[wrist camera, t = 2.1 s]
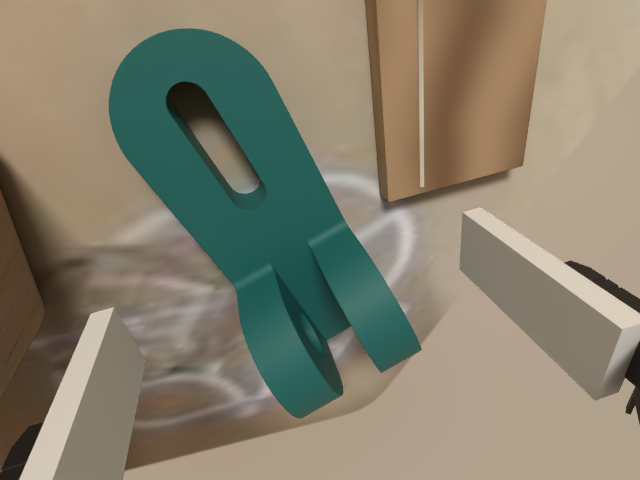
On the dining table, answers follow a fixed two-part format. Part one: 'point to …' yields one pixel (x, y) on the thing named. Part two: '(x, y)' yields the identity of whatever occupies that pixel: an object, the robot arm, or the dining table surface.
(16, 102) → the dining table surface
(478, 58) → the plank
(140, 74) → the bracket
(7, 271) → the block
